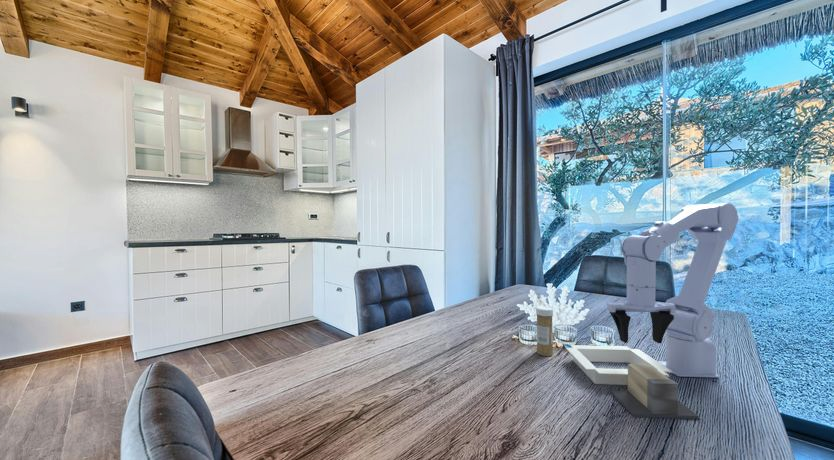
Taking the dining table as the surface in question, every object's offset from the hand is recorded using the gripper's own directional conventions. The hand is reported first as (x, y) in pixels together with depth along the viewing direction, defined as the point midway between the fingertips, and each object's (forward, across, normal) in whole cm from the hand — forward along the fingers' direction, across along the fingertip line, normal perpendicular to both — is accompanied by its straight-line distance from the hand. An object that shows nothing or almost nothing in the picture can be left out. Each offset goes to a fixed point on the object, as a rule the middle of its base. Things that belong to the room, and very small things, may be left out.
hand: (640, 341), depth 79 cm
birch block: (+9, -4, -11) cm, 14 cm away
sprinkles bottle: (+10, -18, +15) cm, 25 cm away
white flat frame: (+9, -4, +4) cm, 11 cm away
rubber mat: (+9, -4, -11) cm, 15 cm away
